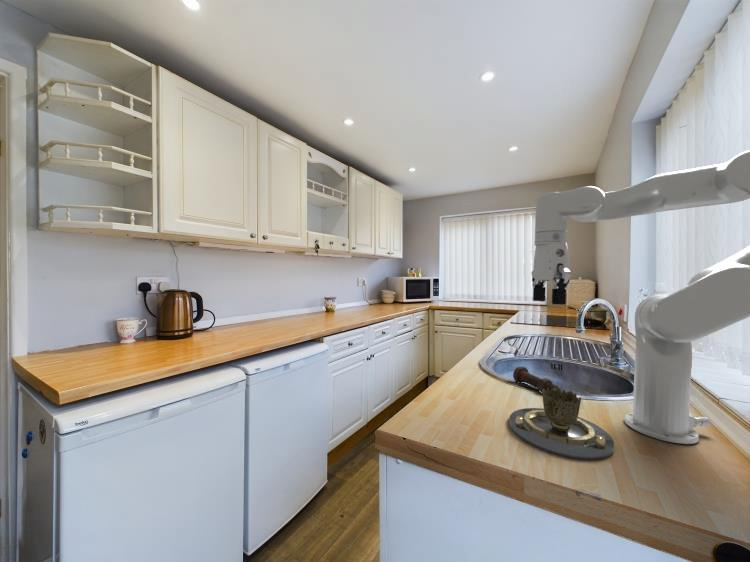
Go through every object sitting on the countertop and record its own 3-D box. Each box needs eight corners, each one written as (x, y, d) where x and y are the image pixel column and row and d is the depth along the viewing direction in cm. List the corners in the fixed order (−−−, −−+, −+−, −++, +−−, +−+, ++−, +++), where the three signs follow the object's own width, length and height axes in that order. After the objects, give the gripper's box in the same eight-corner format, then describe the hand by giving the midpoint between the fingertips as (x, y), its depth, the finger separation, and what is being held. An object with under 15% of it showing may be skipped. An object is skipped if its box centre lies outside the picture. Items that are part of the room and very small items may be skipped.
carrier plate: (574, 413, 78) (575, 401, 78) (640, 462, 58) (640, 445, 58) (496, 411, 79) (496, 399, 79) (534, 458, 59) (534, 442, 59)
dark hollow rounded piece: (586, 439, 64) (587, 402, 63) (548, 435, 65) (549, 398, 65) (570, 422, 71) (571, 388, 71) (536, 419, 72) (537, 386, 72)
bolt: (555, 405, 88) (516, 385, 102) (567, 395, 89) (527, 376, 103) (548, 389, 86) (510, 371, 101) (560, 379, 88) (521, 362, 102)
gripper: (585, 235, 73) (583, 306, 74) (547, 243, 91) (545, 300, 91) (554, 235, 73) (551, 305, 74) (521, 242, 91) (520, 299, 91)
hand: (548, 302), depth 82 cm, fingers open, 9 cm apart
